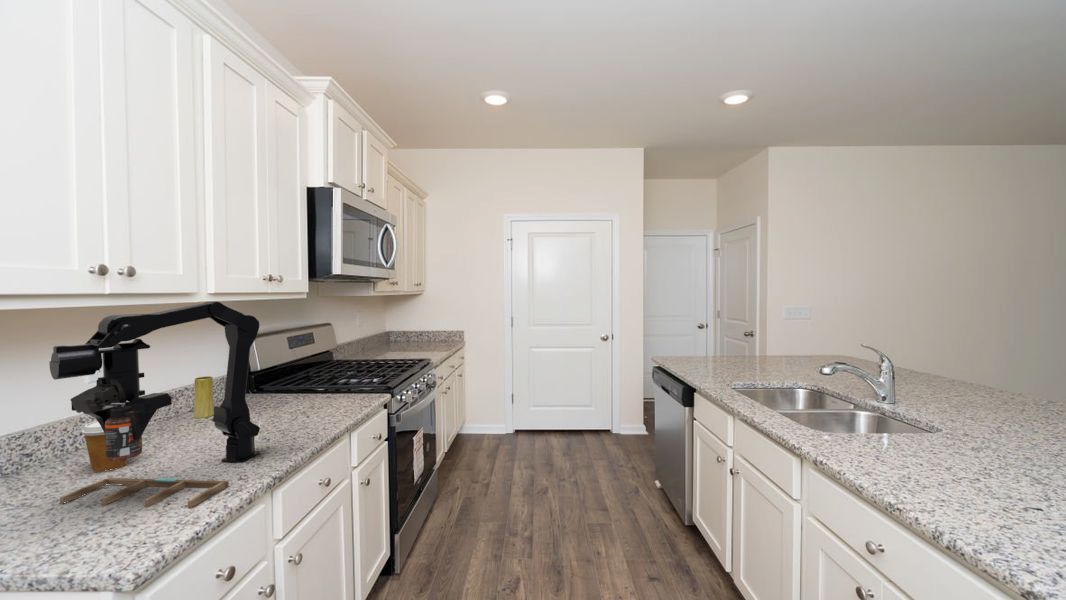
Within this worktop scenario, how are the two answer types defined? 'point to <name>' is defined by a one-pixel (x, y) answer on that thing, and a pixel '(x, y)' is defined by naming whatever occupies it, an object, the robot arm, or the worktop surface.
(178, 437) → the worktop surface
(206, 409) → the vase
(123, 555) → the worktop surface
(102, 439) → the disposable coffee cup
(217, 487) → the notched rack
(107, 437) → the supplement bottle
